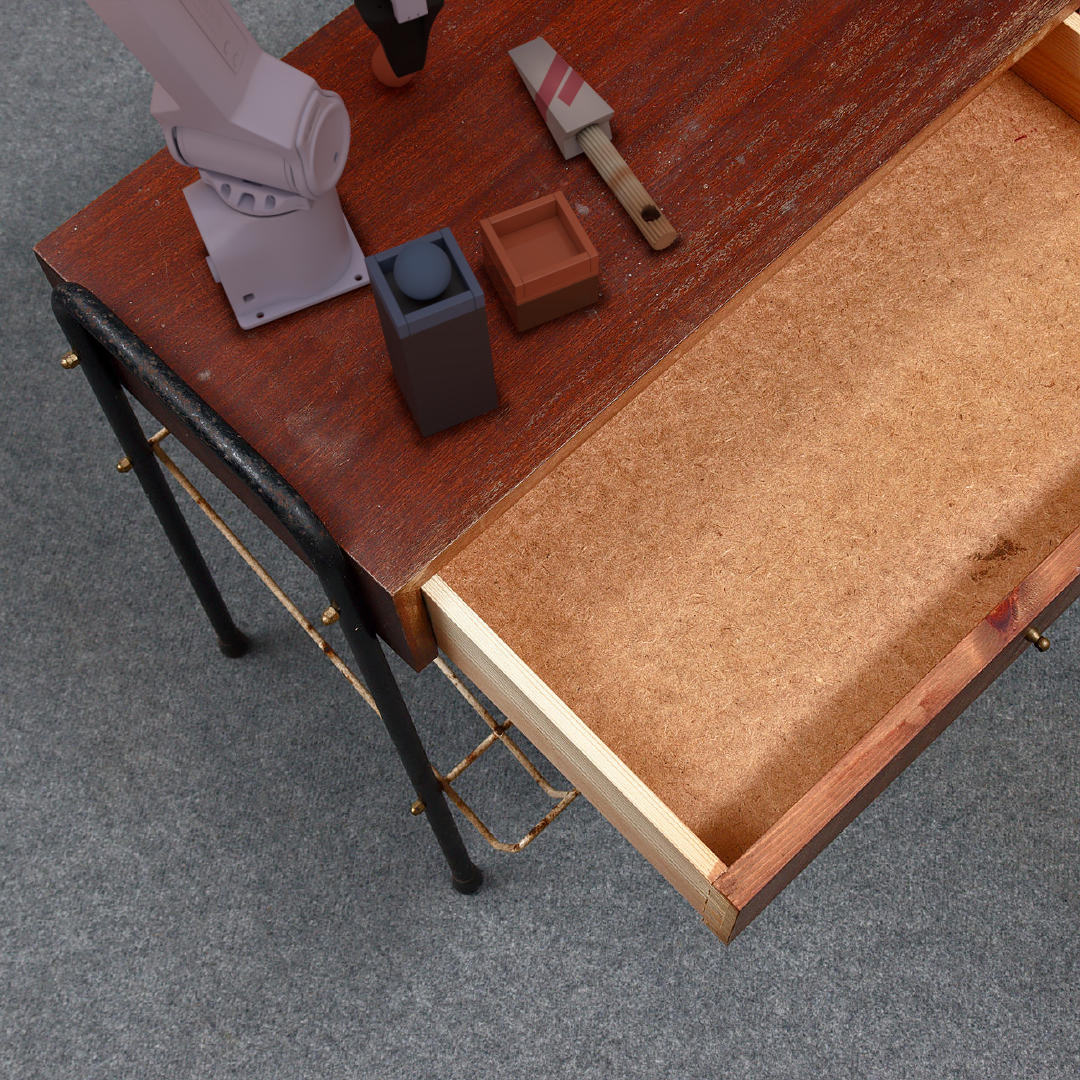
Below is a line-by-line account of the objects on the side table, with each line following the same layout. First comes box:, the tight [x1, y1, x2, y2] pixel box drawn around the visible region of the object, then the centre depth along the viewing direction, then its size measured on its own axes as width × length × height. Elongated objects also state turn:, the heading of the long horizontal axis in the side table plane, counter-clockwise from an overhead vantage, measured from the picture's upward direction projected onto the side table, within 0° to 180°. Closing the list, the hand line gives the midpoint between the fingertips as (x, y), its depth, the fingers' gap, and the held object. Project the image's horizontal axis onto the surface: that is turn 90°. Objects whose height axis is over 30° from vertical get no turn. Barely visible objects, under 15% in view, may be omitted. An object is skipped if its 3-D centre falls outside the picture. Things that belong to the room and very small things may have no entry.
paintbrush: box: [507, 36, 678, 251], centre depth 89 cm, size 4×3×20 cm
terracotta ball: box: [371, 43, 416, 88], centre depth 92 cm, size 3×3×3 cm
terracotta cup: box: [478, 190, 600, 333], centre depth 83 cm, size 6×6×5 cm
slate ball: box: [394, 242, 451, 300], centre depth 70 cm, size 3×3×3 cm
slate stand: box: [364, 226, 499, 439], centre depth 76 cm, size 5×5×12 cm
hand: (389, 34), depth 90 cm, fingers open, 7 cm apart
